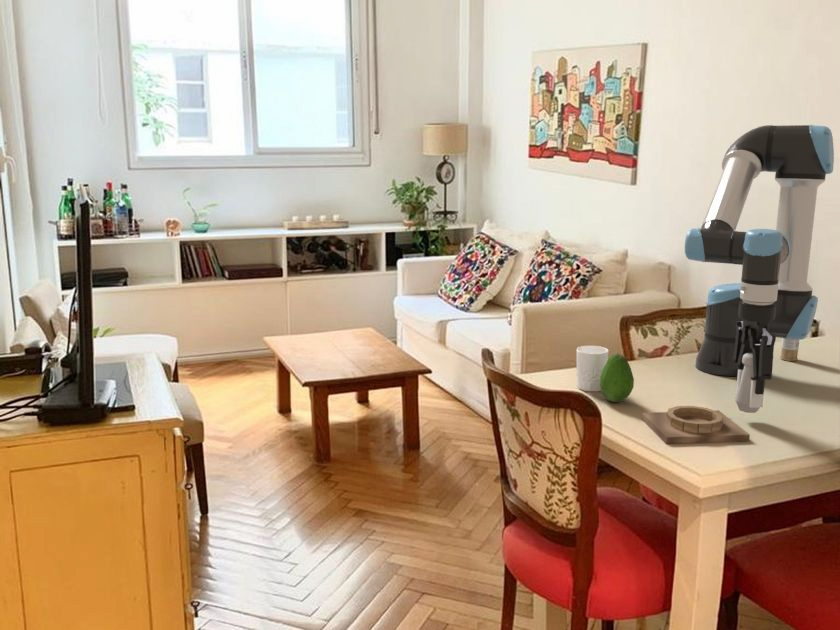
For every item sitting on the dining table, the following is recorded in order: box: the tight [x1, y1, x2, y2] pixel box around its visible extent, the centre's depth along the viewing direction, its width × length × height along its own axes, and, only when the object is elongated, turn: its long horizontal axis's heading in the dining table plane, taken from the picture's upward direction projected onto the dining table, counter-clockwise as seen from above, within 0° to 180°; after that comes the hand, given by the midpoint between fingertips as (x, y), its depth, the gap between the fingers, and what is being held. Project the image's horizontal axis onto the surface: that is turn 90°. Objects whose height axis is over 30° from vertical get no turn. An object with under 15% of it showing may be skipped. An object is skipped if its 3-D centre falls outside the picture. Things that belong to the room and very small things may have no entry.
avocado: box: [600, 353, 635, 403], centre depth 199 cm, size 8×8×12 cm
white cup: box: [576, 345, 610, 392], centre depth 210 cm, size 8×8×10 cm
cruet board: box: [641, 405, 751, 445], centre depth 181 cm, size 18×15×4 cm
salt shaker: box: [735, 353, 761, 414], centre depth 185 cm, size 6×6×13 cm
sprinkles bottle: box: [780, 338, 800, 362], centre depth 234 cm, size 5×5×13 cm
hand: (748, 401), depth 186 cm, fingers closed on salt shaker, 6 cm apart
